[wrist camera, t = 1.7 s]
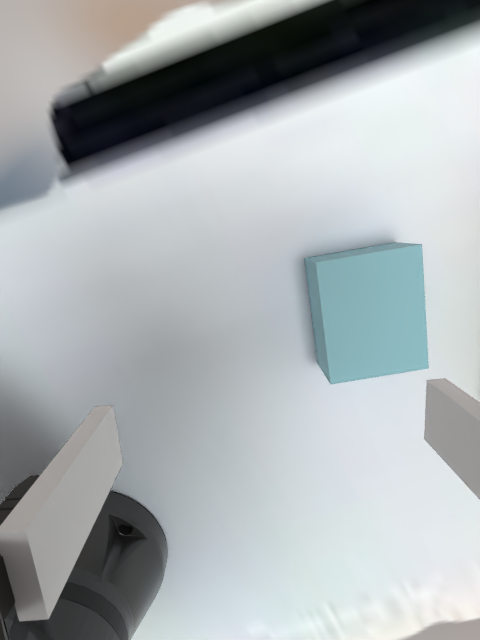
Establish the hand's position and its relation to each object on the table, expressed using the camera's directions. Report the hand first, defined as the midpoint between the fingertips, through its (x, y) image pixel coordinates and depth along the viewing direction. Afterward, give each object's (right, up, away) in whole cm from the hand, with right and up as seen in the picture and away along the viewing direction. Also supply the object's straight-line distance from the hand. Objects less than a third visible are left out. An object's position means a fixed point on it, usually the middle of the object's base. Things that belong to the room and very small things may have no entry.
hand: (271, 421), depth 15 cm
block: (+9, +6, +18) cm, 21 cm away
